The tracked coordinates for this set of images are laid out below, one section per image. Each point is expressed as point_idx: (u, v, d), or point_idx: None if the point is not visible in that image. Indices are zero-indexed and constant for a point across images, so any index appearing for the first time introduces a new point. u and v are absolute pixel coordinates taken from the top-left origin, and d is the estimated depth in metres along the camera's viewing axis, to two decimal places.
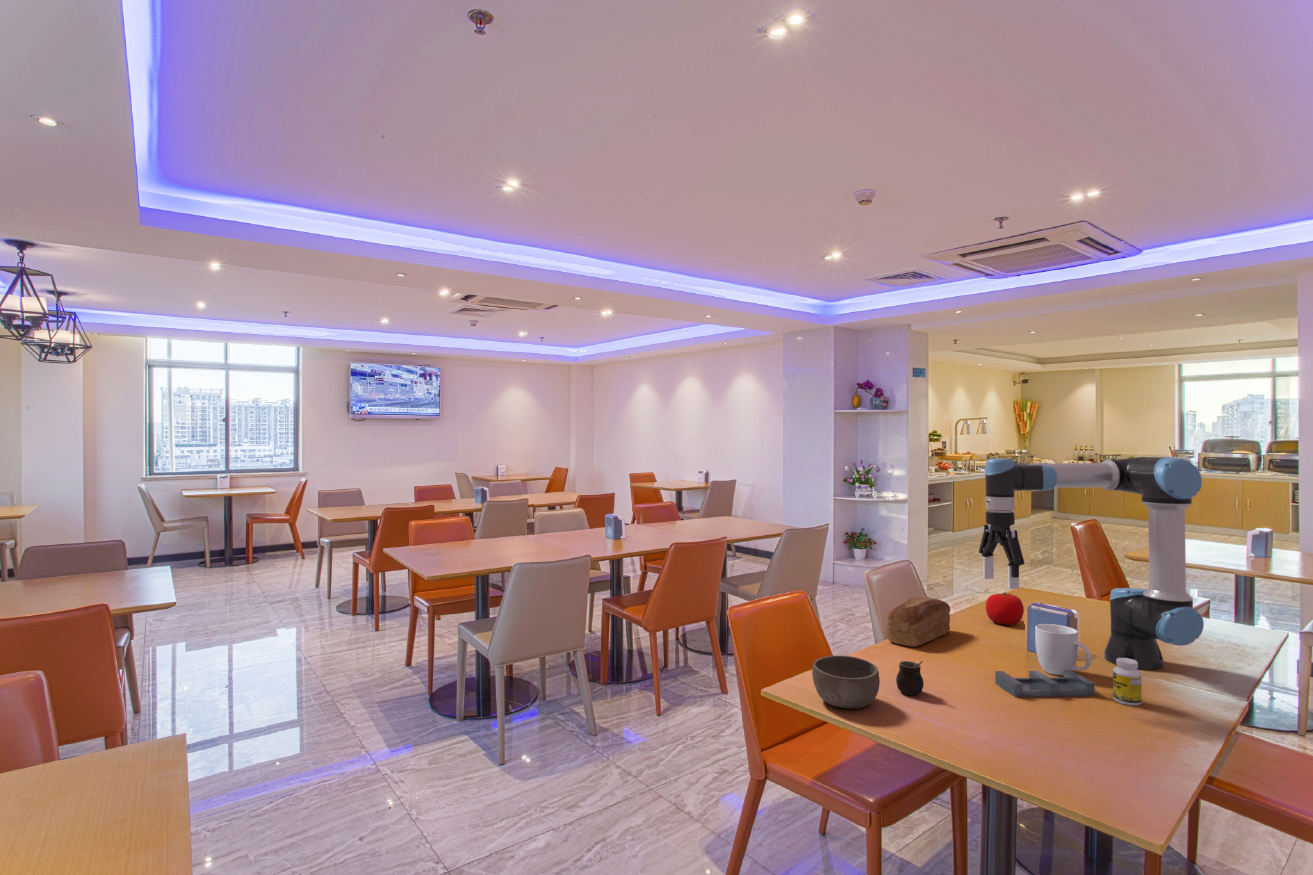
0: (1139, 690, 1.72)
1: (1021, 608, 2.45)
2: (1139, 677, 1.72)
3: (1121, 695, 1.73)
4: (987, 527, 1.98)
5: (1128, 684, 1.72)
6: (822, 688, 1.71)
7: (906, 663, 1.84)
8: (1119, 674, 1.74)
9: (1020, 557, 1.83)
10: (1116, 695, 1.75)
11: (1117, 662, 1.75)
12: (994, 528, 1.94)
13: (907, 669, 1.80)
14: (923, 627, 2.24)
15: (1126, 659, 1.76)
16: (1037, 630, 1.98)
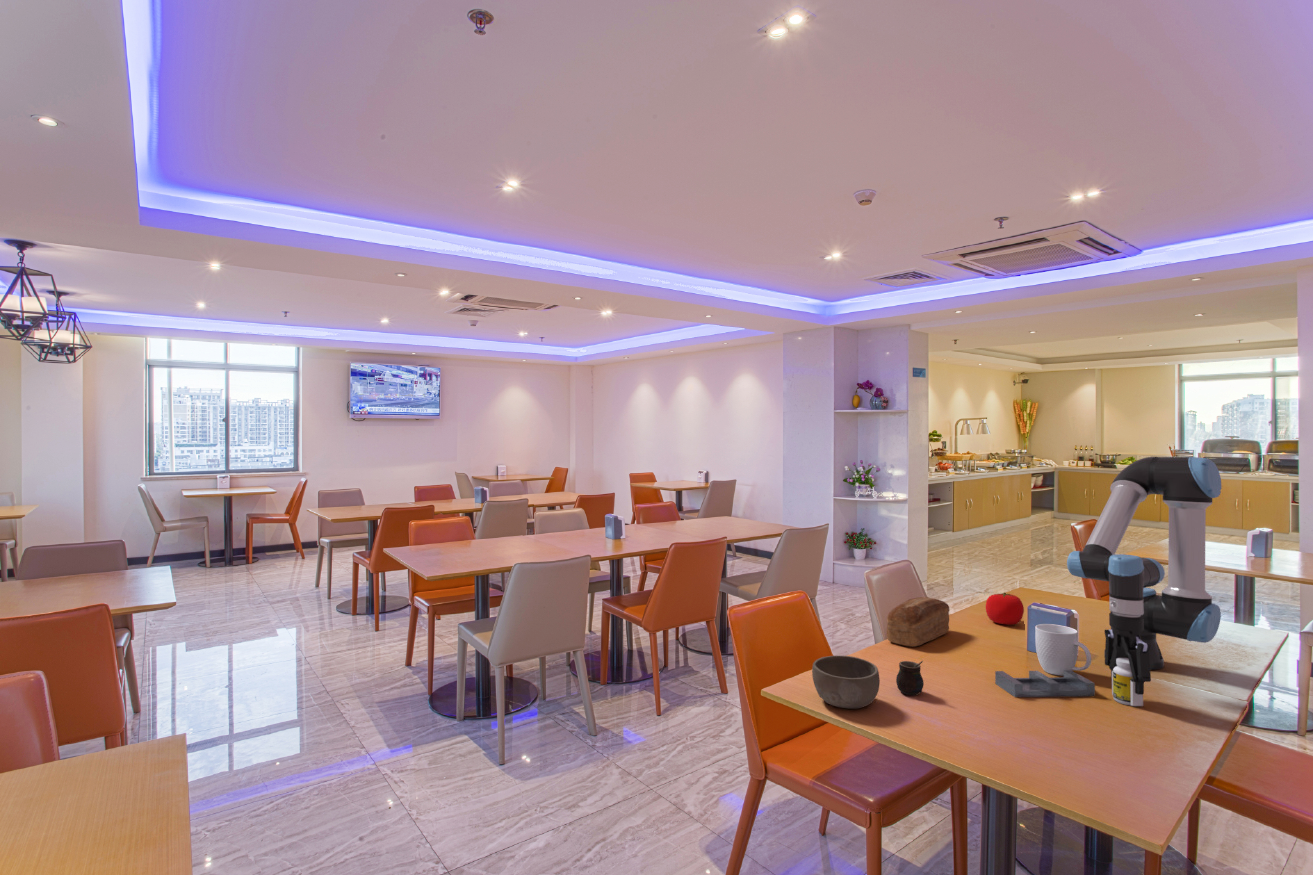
0: None
1: (1021, 608, 2.45)
2: None
3: (1121, 695, 1.73)
4: (1108, 632, 1.80)
5: (1128, 684, 1.72)
6: (822, 688, 1.71)
7: (906, 663, 1.84)
8: (1119, 674, 1.74)
9: (1147, 674, 1.68)
10: (1116, 695, 1.74)
11: (1117, 662, 1.75)
12: (1119, 632, 1.76)
13: (907, 669, 1.80)
14: (923, 627, 2.24)
15: (1126, 659, 1.76)
16: (1037, 630, 1.98)
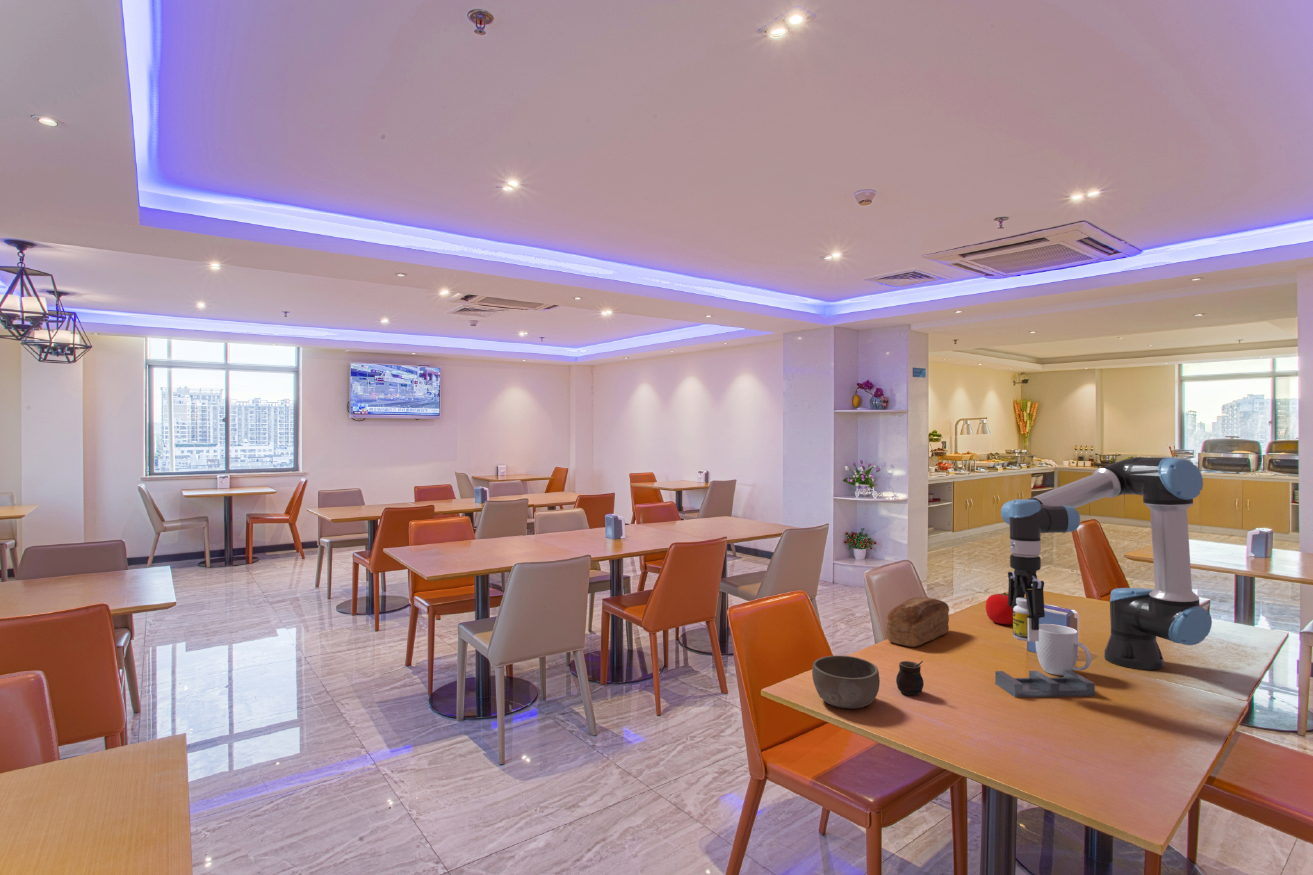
0: None
1: None
2: None
3: (1019, 631, 1.82)
4: (1011, 574, 1.89)
5: (1025, 621, 1.81)
6: (822, 688, 1.71)
7: (906, 663, 1.84)
8: (1017, 611, 1.82)
9: (1041, 610, 1.77)
10: (1015, 632, 1.83)
11: (1016, 601, 1.84)
12: (1019, 572, 1.85)
13: (907, 669, 1.80)
14: (923, 627, 2.24)
15: (1025, 598, 1.85)
16: None
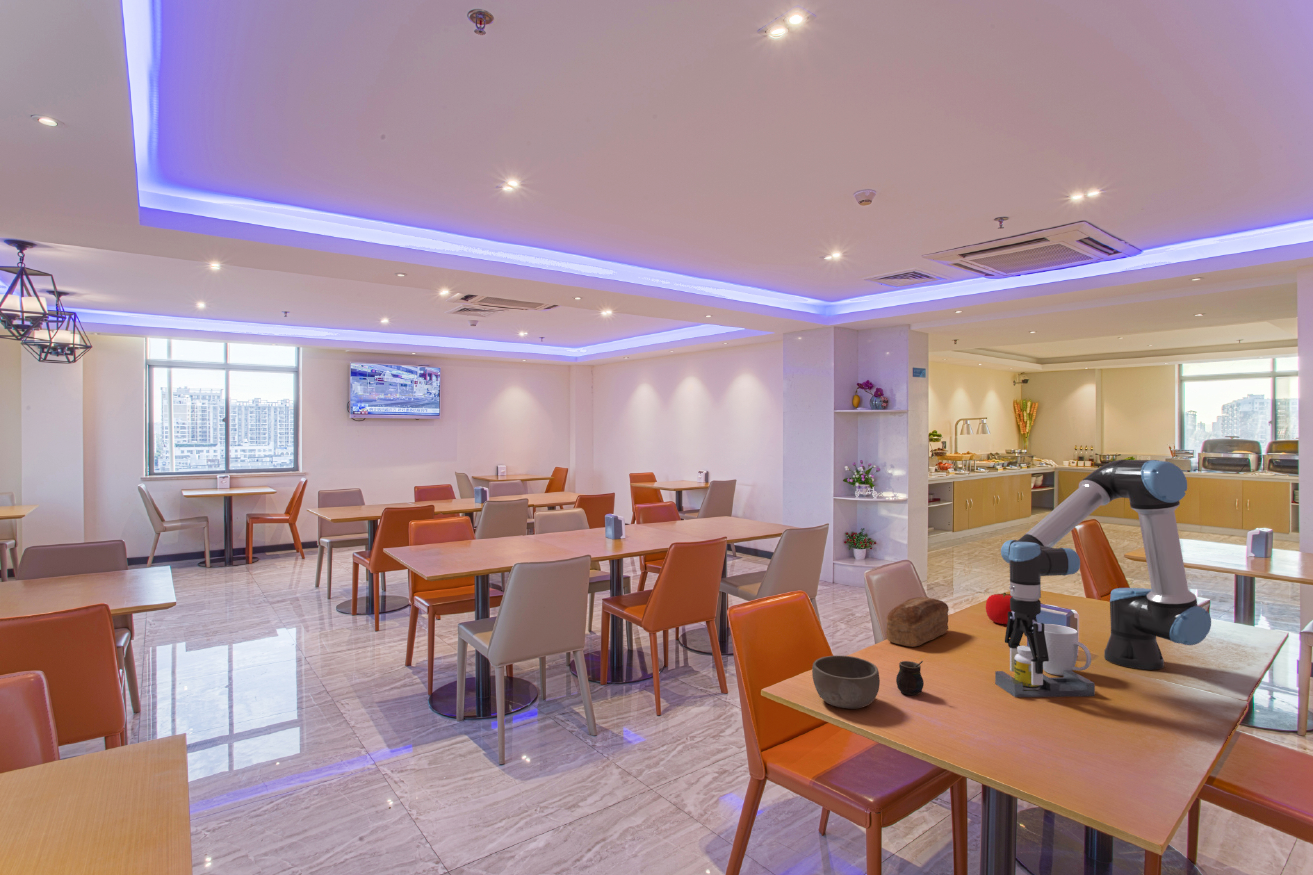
0: None
1: None
2: None
3: (1020, 681, 1.82)
4: (1011, 614, 1.89)
5: (1026, 670, 1.80)
6: (822, 688, 1.71)
7: (906, 663, 1.84)
8: (1018, 661, 1.82)
9: (1045, 654, 1.75)
10: None
11: (1017, 650, 1.83)
12: (1019, 615, 1.85)
13: (907, 669, 1.80)
14: (923, 627, 2.24)
15: (1026, 647, 1.84)
16: None
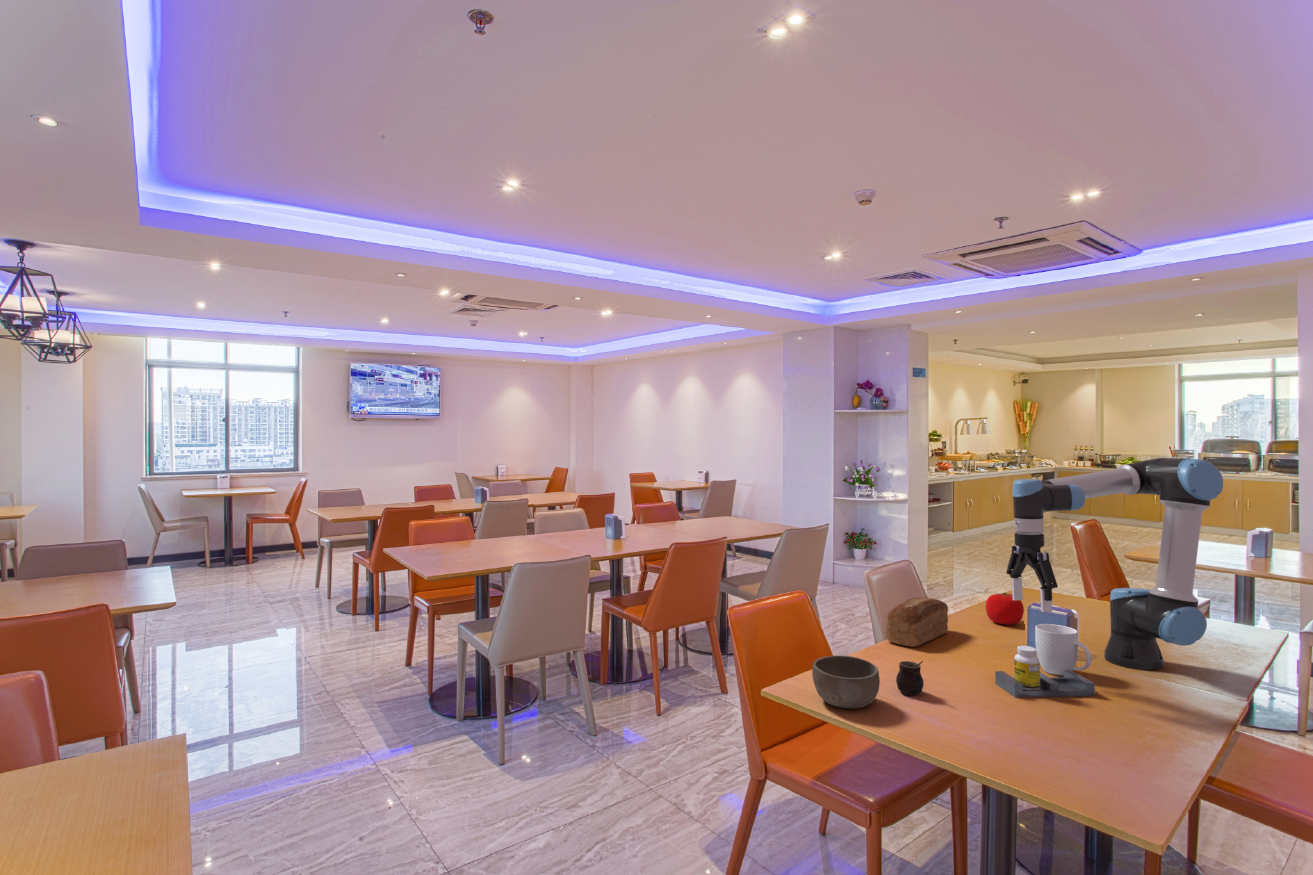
0: (1037, 676, 1.80)
1: (1021, 608, 2.45)
2: (1037, 664, 1.80)
3: (1020, 681, 1.82)
4: (1015, 548, 1.96)
5: (1026, 670, 1.80)
6: (822, 688, 1.71)
7: (906, 663, 1.84)
8: (1018, 661, 1.82)
9: (1053, 580, 1.81)
10: None
11: (1017, 650, 1.84)
12: (1023, 550, 1.91)
13: (907, 669, 1.80)
14: (922, 627, 2.24)
15: (1026, 647, 1.84)
16: (1037, 630, 1.98)
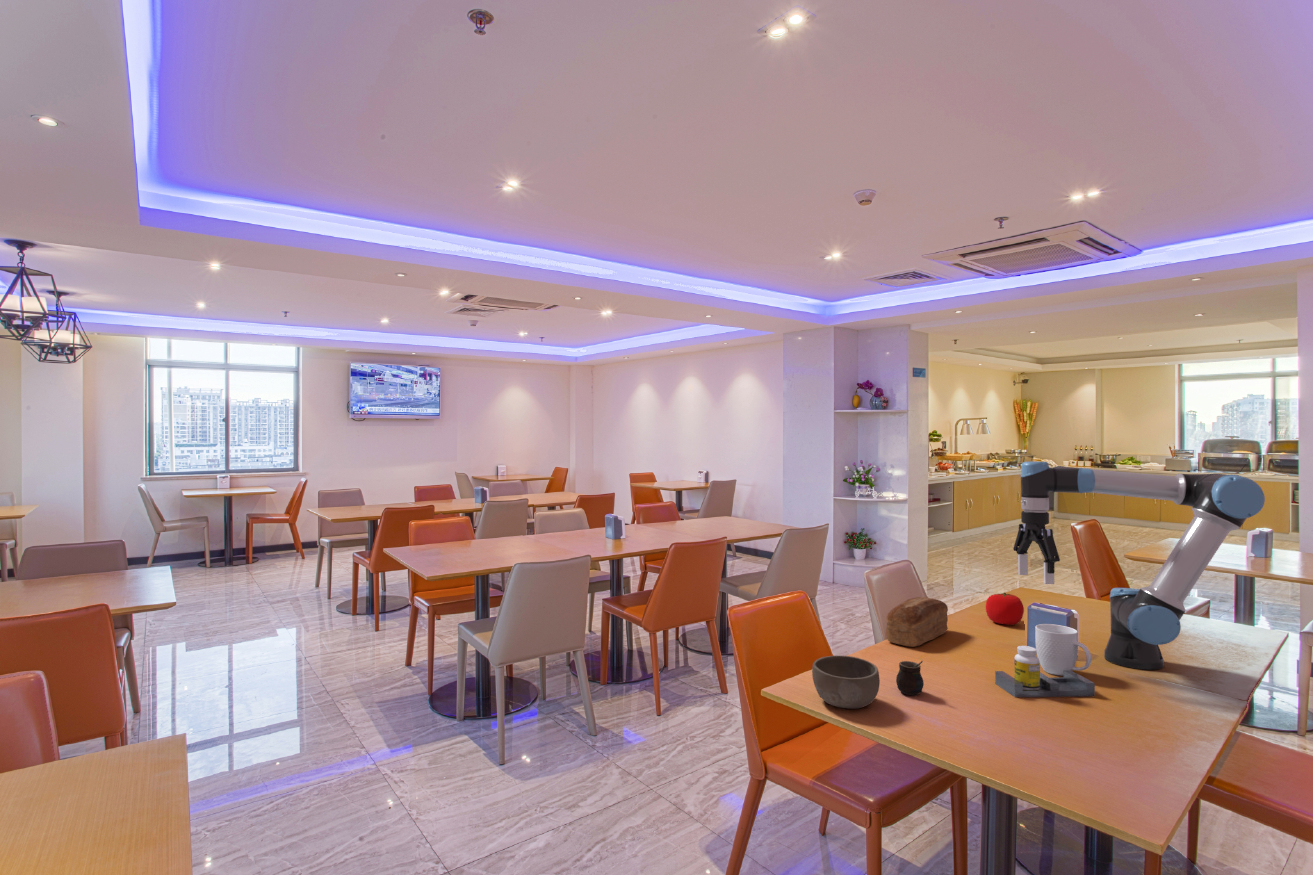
0: (1037, 676, 1.80)
1: (1021, 608, 2.45)
2: (1037, 664, 1.80)
3: (1020, 681, 1.82)
4: (1022, 526, 2.10)
5: (1026, 670, 1.80)
6: (822, 688, 1.71)
7: (906, 663, 1.84)
8: (1018, 661, 1.82)
9: (1056, 554, 1.95)
10: None
11: (1018, 650, 1.83)
12: (1029, 527, 2.05)
13: (907, 669, 1.80)
14: (922, 627, 2.24)
15: (1027, 647, 1.84)
16: (1037, 630, 1.98)
